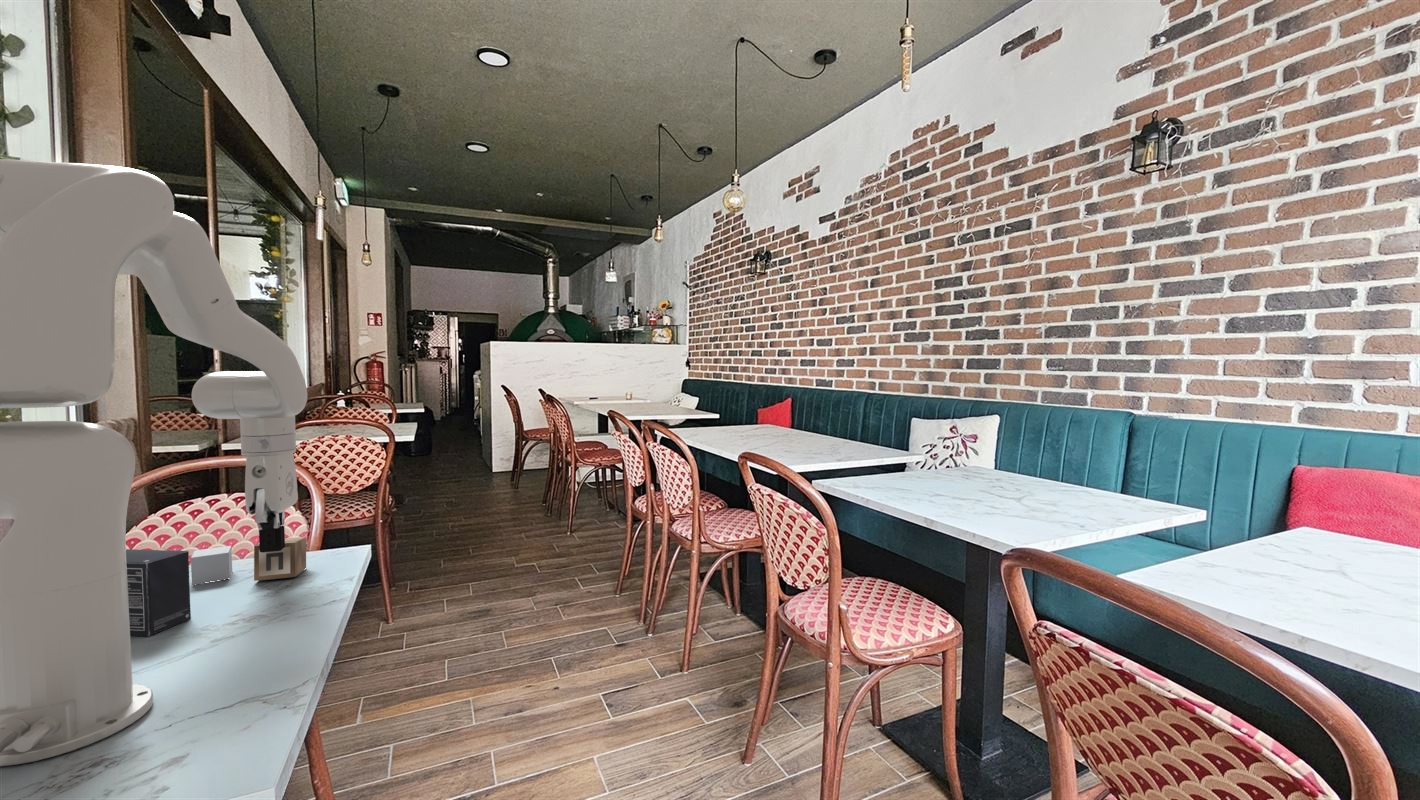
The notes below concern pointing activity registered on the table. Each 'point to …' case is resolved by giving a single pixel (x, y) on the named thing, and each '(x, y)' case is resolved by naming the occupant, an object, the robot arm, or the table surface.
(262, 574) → the walnut cube
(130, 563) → the small box
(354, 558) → the table surface
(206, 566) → the grey block
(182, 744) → the table surface
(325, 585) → the table surface
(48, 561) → the robot arm
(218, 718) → the table surface
